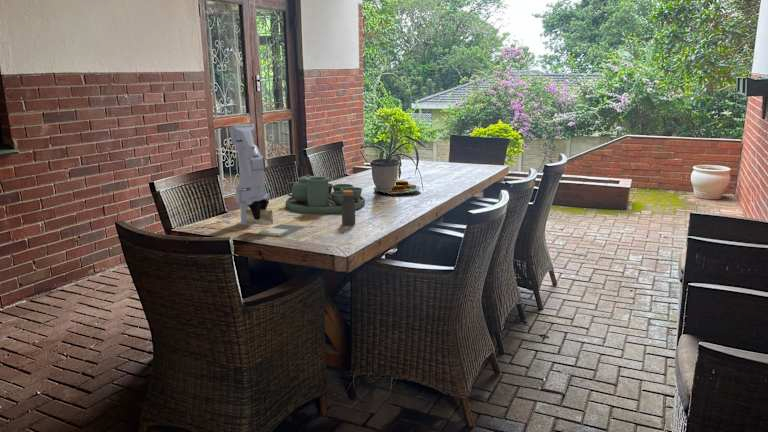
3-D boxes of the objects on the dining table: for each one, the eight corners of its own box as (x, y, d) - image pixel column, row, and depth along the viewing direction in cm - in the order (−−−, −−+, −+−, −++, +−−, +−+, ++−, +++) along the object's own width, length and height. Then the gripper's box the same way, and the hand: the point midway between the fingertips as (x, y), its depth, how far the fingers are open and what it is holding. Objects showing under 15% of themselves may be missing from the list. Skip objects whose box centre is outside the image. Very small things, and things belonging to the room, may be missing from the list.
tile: (270, 227, 254) (288, 229, 251) (270, 230, 255) (288, 232, 251) (260, 231, 248) (279, 233, 245) (260, 234, 248) (279, 236, 245)
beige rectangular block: (250, 221, 255) (249, 207, 254) (272, 223, 251) (272, 209, 250) (246, 223, 252) (245, 209, 251) (268, 225, 248) (268, 211, 247)
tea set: (376, 210, 297) (375, 177, 294) (296, 217, 283) (295, 182, 279) (349, 196, 333) (349, 166, 330) (278, 202, 319) (276, 171, 315)
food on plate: (398, 199, 325) (398, 187, 323) (367, 193, 342) (367, 181, 341) (430, 192, 342) (430, 181, 341) (399, 187, 360) (398, 176, 358)
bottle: (355, 222, 270) (354, 189, 267) (355, 225, 265) (354, 192, 261) (342, 222, 270) (341, 189, 267) (341, 225, 264) (341, 192, 261)
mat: (280, 225, 266) (280, 224, 266) (306, 228, 261) (306, 226, 261) (254, 236, 248) (254, 234, 248) (281, 239, 243) (281, 237, 243)
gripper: (255, 189, 240) (257, 222, 243) (275, 184, 253) (277, 215, 256) (240, 188, 243) (242, 221, 246) (261, 183, 256) (262, 214, 259)
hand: (259, 218), depth 251 cm, fingers closed on beige rectangular block, 3 cm apart
